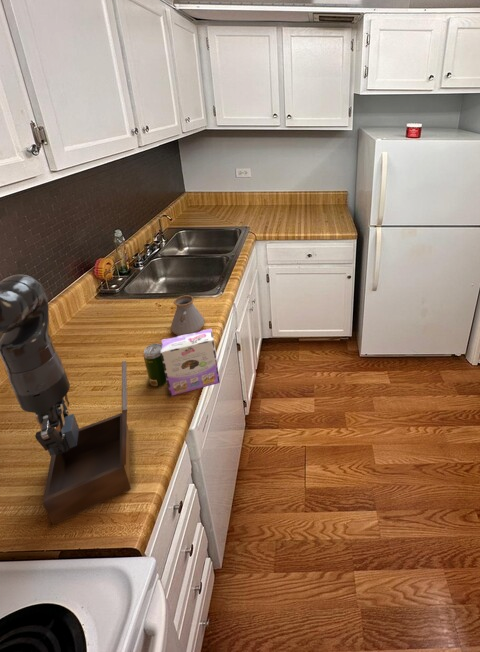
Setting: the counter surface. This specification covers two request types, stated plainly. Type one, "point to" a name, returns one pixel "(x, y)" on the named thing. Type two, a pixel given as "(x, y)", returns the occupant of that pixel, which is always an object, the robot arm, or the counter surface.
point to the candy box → (190, 361)
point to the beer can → (154, 365)
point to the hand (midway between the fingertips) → (64, 440)
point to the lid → (124, 412)
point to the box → (88, 470)
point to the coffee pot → (186, 317)
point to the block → (69, 432)
